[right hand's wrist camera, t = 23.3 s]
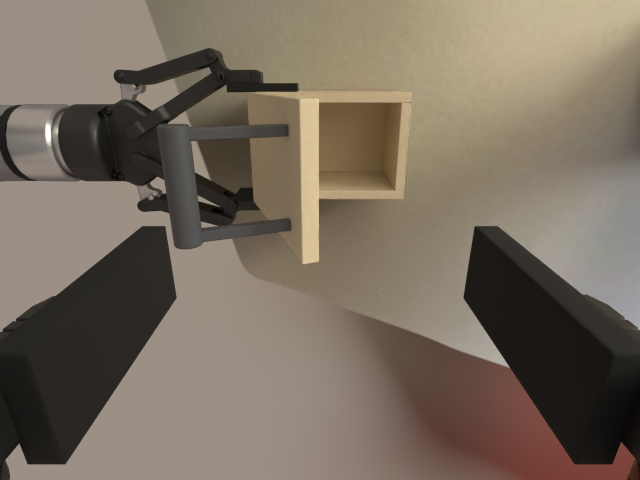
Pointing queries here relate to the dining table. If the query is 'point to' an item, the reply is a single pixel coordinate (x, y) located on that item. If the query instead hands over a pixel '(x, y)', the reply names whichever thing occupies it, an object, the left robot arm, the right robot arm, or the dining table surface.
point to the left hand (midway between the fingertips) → (298, 143)
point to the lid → (254, 174)
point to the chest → (361, 142)
